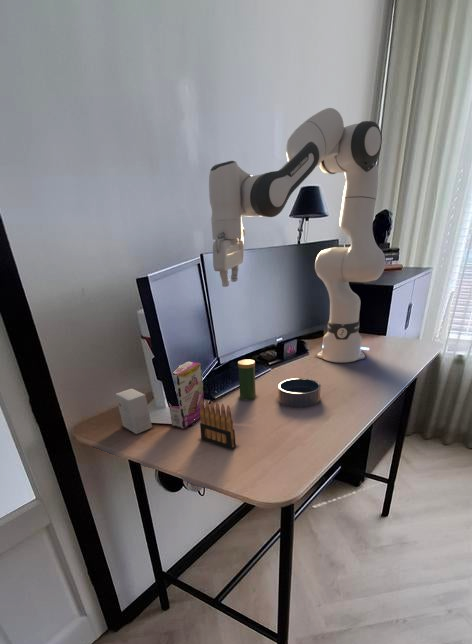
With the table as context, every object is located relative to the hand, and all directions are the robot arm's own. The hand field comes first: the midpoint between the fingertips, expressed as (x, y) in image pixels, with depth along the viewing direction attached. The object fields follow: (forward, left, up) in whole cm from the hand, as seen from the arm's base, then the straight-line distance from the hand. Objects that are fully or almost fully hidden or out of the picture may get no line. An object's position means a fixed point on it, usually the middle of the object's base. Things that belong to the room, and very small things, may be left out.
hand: (230, 283), depth 125 cm
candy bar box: (+30, -6, -33) cm, 45 cm away
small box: (+37, -20, -33) cm, 54 cm away
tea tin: (+10, +7, -33) cm, 35 cm away
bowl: (+10, +24, -33) cm, 42 cm away
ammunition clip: (+42, +7, -33) cm, 54 cm away
